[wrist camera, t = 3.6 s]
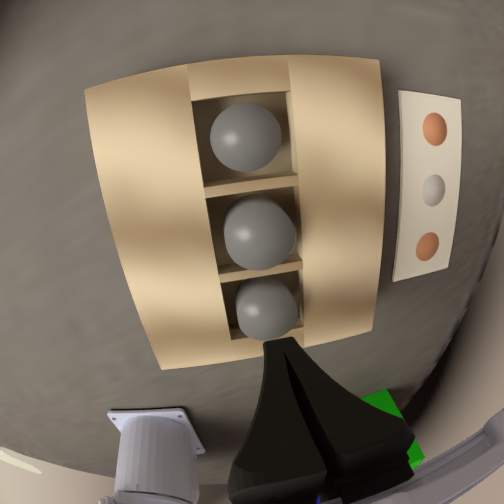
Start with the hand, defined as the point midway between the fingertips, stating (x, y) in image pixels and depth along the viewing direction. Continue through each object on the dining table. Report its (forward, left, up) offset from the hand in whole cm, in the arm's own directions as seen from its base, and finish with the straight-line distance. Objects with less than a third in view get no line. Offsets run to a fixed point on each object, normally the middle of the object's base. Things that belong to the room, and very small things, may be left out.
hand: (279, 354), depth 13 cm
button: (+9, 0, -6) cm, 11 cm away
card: (+4, -14, -7) cm, 16 cm away
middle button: (+4, 0, -5) cm, 7 cm away
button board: (+4, 0, -7) cm, 9 cm away
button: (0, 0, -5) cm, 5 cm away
